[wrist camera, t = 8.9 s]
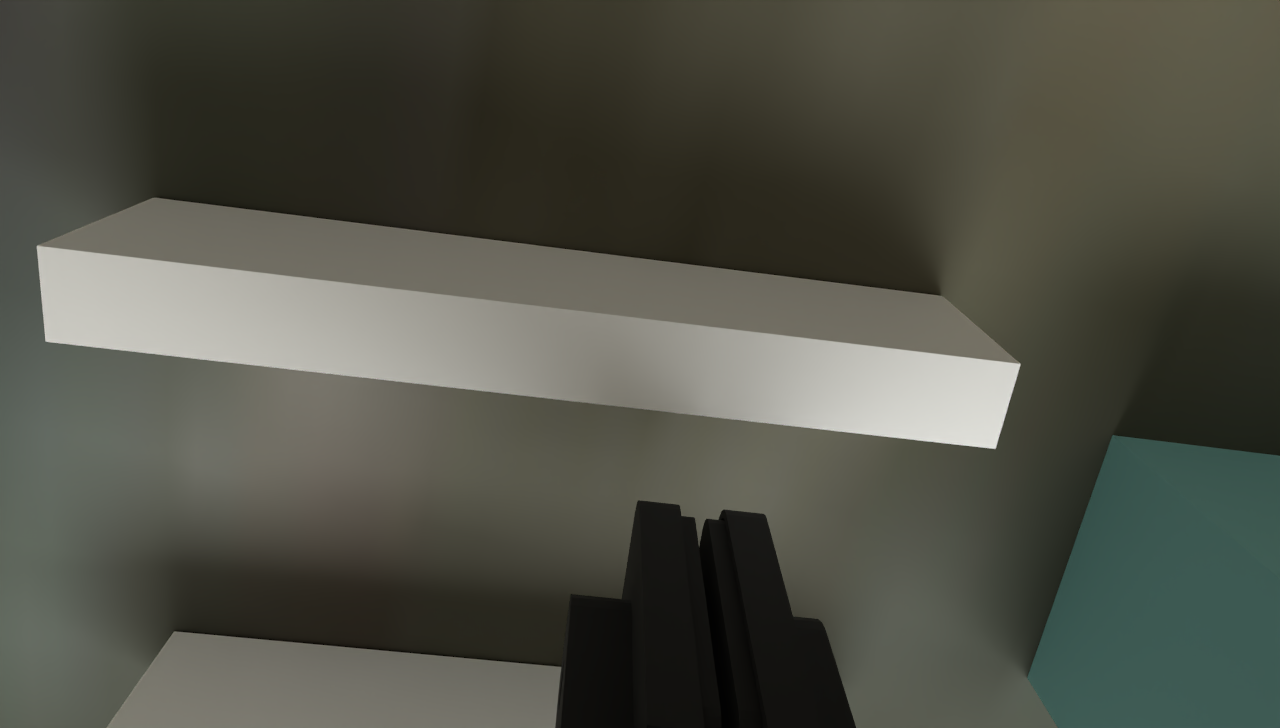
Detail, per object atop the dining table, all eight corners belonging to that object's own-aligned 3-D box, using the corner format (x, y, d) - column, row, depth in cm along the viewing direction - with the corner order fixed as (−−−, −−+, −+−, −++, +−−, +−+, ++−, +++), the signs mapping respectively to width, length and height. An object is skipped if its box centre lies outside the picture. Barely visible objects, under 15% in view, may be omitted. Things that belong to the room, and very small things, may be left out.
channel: (153, 198, 14) (37, 246, 11) (943, 296, 15) (1020, 364, 12) (176, 685, 17) (90, 821, 14) (826, 744, 18) (866, 881, 15)
